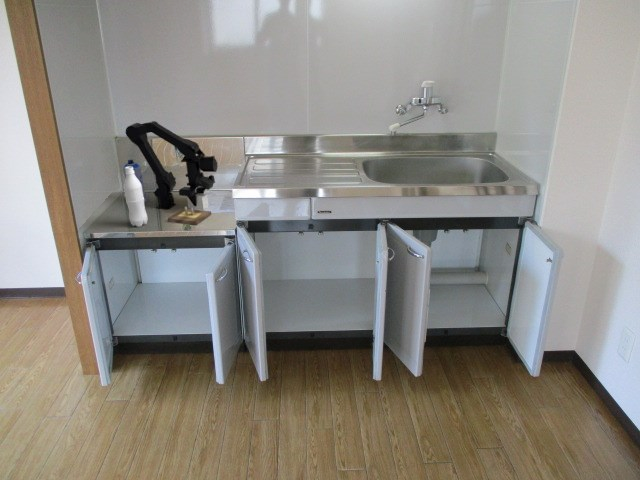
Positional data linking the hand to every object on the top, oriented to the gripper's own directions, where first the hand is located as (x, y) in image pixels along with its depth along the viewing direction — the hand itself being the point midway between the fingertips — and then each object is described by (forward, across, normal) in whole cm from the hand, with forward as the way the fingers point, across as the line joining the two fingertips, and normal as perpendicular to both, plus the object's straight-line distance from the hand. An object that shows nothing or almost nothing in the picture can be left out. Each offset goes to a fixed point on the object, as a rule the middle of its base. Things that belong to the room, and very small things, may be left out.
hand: (198, 204), depth 228 cm
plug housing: (+2, 0, 0) cm, 2 cm away
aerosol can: (+2, -1, +32) cm, 32 cm away
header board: (+2, -12, -3) cm, 12 cm away
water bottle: (+2, -24, +14) cm, 28 cm away
